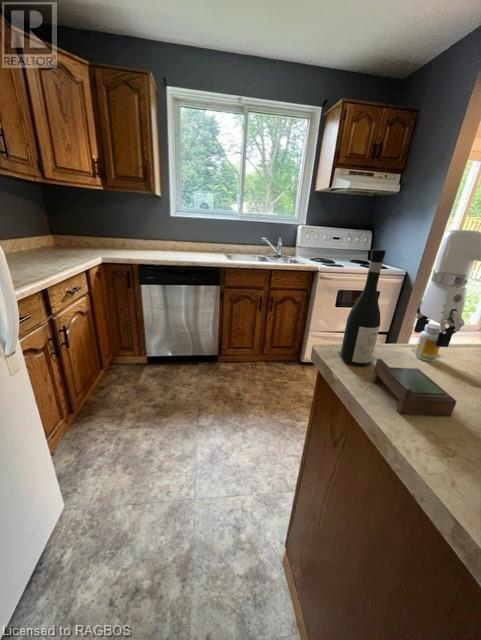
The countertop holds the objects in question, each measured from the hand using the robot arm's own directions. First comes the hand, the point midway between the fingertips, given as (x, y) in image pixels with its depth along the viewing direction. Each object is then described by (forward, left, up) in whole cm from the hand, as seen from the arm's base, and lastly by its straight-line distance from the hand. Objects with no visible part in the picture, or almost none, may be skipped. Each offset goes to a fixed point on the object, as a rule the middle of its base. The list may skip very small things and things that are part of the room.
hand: (429, 338), depth 77 cm
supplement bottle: (0, 0, -6) cm, 6 cm away
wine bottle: (+22, +4, -6) cm, 23 cm away
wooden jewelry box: (+18, +22, -6) cm, 29 cm away
